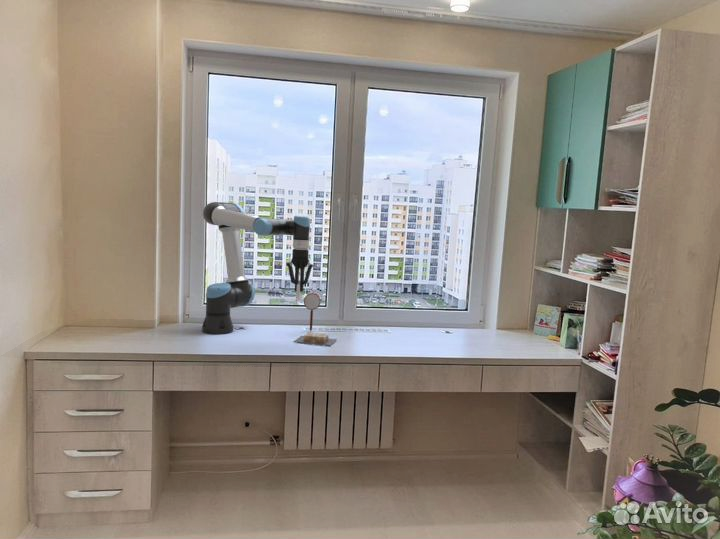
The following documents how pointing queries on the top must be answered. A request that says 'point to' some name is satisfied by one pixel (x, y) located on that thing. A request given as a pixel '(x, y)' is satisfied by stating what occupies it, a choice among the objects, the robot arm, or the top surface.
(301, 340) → the mat
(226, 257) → the robot arm
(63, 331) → the top surface
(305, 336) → the wooden block
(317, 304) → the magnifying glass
